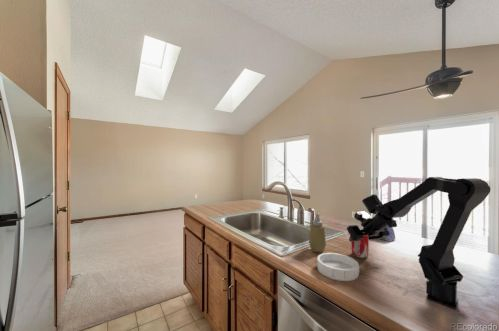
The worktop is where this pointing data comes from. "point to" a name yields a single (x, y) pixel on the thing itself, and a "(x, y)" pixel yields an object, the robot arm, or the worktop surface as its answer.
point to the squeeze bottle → (317, 236)
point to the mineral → (391, 234)
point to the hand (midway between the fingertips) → (357, 239)
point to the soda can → (360, 247)
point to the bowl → (338, 266)
